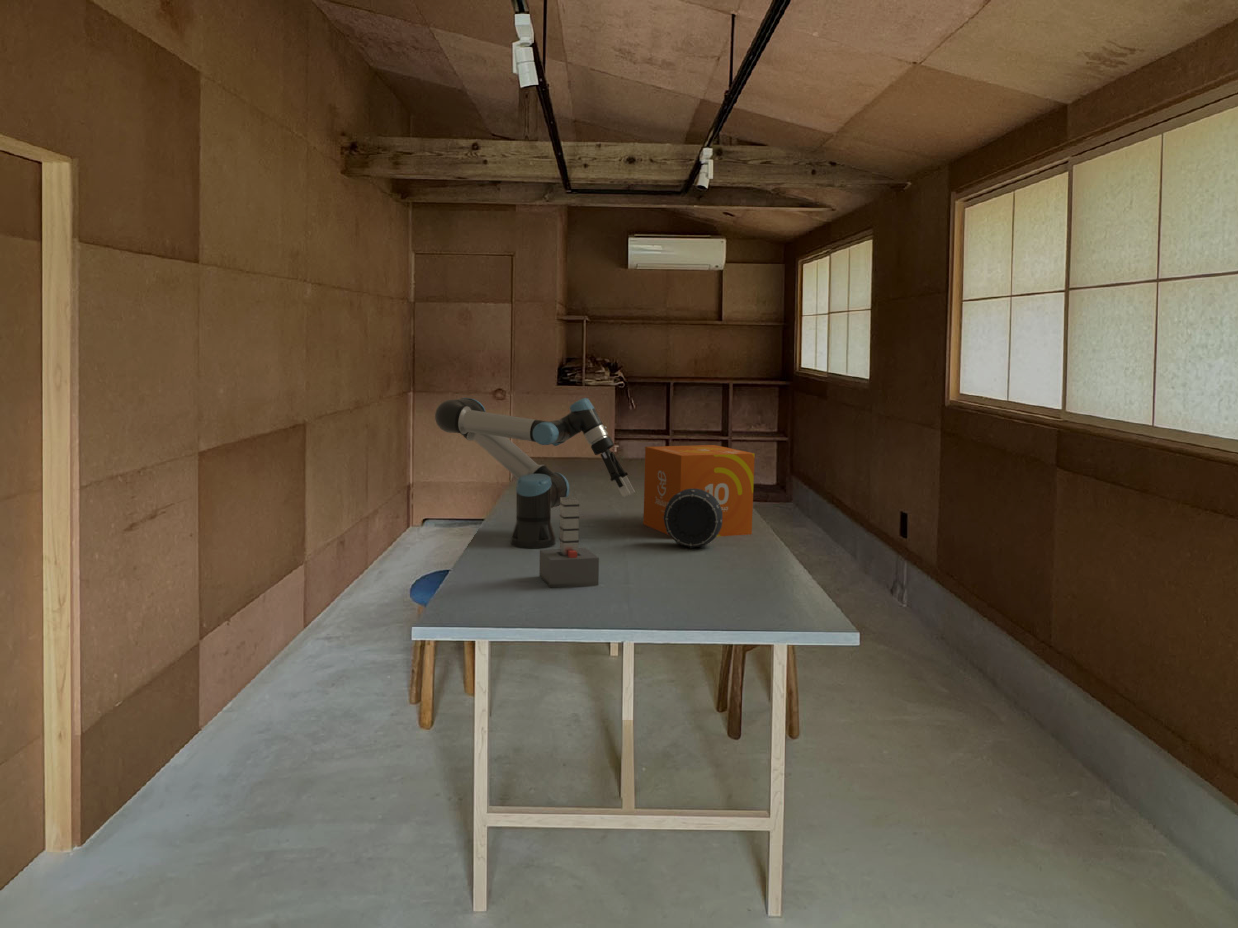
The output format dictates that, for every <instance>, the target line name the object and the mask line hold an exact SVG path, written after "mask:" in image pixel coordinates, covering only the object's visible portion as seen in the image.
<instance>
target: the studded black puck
mask: <svg viewBox="0 0 1238 928" xmlns="http://www.w3.org/2000/svg"><path fill="white" fill-rule="evenodd" d="M722 517H723V513H722V509H721V507H720V505H719V503H718V501H717V500H716V498H715V497H714V496H712V495H711V494H710V493H708V492H706V491H704V490H701V489H686V490H683V491H681V492H679V493H677V494H676V495H674V496H673V497H672V498H671V499H670V501H669V502H668V503H667V506H666V509H665V512H664V516H663V519H664V523H665V527H666V532H667V533H668V534H669V535H668V534H667V535H668V536H670V538H671V539H672V540H674V541H675V543H676V545H682V546H684V547H688V548H690V549H693V548H700V547H703V546H707V545H708V544H710V543H711V542H713V540H715V538H716V536H717V535H718V533H719V532H720V529H721V527H722Z"/></svg>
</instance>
